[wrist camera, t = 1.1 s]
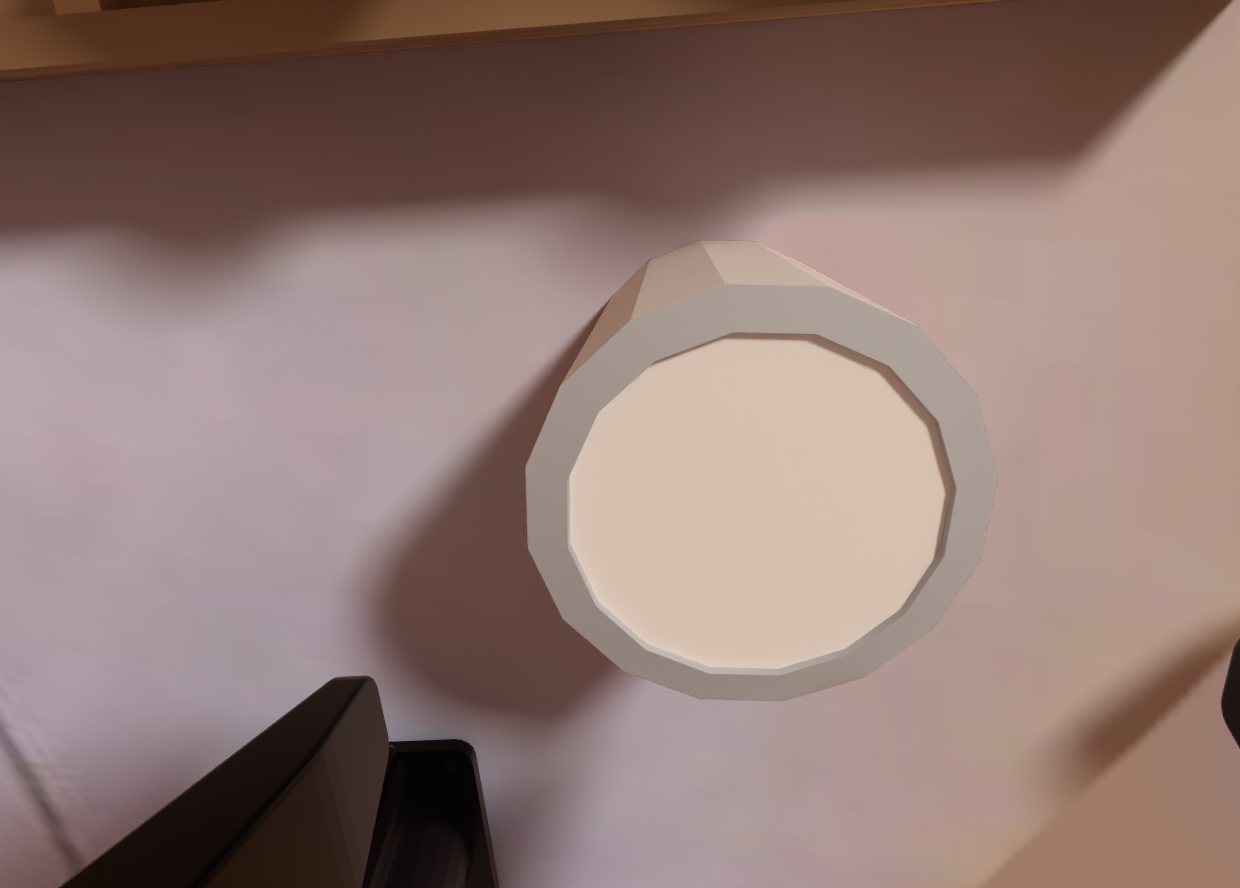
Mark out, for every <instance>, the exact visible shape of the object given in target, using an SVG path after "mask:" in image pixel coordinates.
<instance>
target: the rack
mask: <svg viewBox="0 0 1240 888" xmlns="http://www.w3.org/2000/svg"><path fill="white" fill-rule="evenodd" d="M994 1H1006V0H0V82H2V81H14V80H27V79H39V78H51V77H64V76H76V75H89V74H101V73H113V72H126V71H138V70H151V69H163V68H175V67H188V66H200V65H213V64H225V63H238V62H250V61H262V60H275V59H287V58H300V57H312V56H324V55H337V54H349V53H362V52H374V51H386V50H399V49H411V48H424V47H436V46H448V45H461V44H473V43H486V42H498V41H510V40H523V39H535V38H548V37H560V36H572V35H585V34H597V33H610V32H622V31H634V30H647V29H659V28H672V27H684V26H696V25H709V24H721V23H734V22H746V21H758V20H771V19H783V18H796V17H808V16H820V15H833V14H845V13H858V12H870V11H882V10H895V9H907V8H920V7H932V6H944V5H957V4H969V3H982V2H994Z"/></svg>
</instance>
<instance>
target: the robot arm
mask: <svg viewBox="0 0 1240 888" xmlns="http://www.w3.org/2000/svg"><path fill="white" fill-rule="evenodd" d="M1221 708H1222V713H1223V717H1224V720H1225V723H1226V725H1227V727H1228V729H1229V730H1230V732H1231V733H1232V736H1233V737H1234V739H1235V741H1236V743H1237V744H1238V746H1239V748H1240V639H1239V640H1238V641H1237V642H1236V644H1235V646H1234V649H1233V653H1232V657H1231V661H1230V665H1229V669H1228V673H1227V677H1226V682H1225V685H1224V690H1223V694H1222V700H1221ZM452 757H454V758H458V759H460V760H461V761H459V762H458V761H453V760H452V759H450V758H452ZM58 888H499V883H498V878H497V872H496V866H495V861H494V855H493V849H492V843H491V838H490V832H489V826H488V821H487V815H486V809H485V803H484V798H483V792H482V786H481V781H480V775H479V769H478V763H477V758H476V753H475V750H474V748H473V747H472V746H471V745H470V744H469V743H467V742H465V741H463V740H457V739H448V740H424V741H399V742H389V740H388V733H387V728H386V724H385V719H384V715H383V710H382V706H381V701H380V697H379V692H378V688H377V685H376V683H375V681H374V679H372V678H371V677H369V676H348V677H336V678H333V679H332V680H330V681H329V682H327V683H326V684H325V685H323V686H322V687H321V688H319V689H318V690H317V691H315V692H314V693H313V694H311V695H310V696H309V697H308V698H306V699H305V700H304V701H302V702H301V703H300V704H298V705H297V706H296V707H294V708H293V709H292V710H291V711H289V712H288V713H287V714H285V715H284V716H283V717H281V718H280V719H279V720H277V721H276V722H275V723H273V724H272V725H271V726H270V727H268V728H267V729H266V730H264V731H263V732H262V733H260V734H259V735H258V736H256V737H255V738H254V739H252V740H251V741H250V742H249V743H247V744H246V745H245V746H243V747H242V748H241V749H239V750H238V751H237V752H235V753H234V754H233V755H232V756H230V757H229V758H228V759H226V760H225V761H224V762H222V763H221V764H220V765H218V766H217V767H216V768H214V769H213V770H212V771H211V772H209V773H208V774H207V775H205V776H204V777H203V778H201V779H200V780H199V781H197V782H196V783H195V784H193V785H192V786H191V787H190V788H188V789H187V790H186V791H184V792H183V793H182V794H180V795H179V796H178V797H176V798H175V799H174V800H173V801H171V802H170V803H169V804H167V805H166V806H165V807H163V808H162V809H161V810H159V811H158V812H157V813H155V814H154V815H153V816H152V817H150V818H149V819H148V820H146V821H145V822H144V823H142V824H141V825H140V826H138V827H137V828H136V829H135V830H133V831H132V832H131V833H129V834H128V835H127V836H125V837H124V838H123V839H121V840H120V841H119V842H117V843H116V844H115V845H113V846H112V847H111V848H110V849H108V850H107V851H106V852H104V853H103V854H102V855H100V856H99V857H98V858H96V859H95V860H94V861H92V862H91V863H90V864H89V865H87V866H86V867H85V868H83V869H82V870H81V871H79V872H78V873H77V874H75V875H74V876H73V877H71V878H70V879H69V880H68V881H66V882H65V883H64V884H62V885H61V886H60V887H58Z"/></svg>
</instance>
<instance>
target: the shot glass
mask: <svg viewBox="0 0 1240 888" xmlns="http://www.w3.org/2000/svg"><path fill="white" fill-rule="evenodd" d="M525 472H526V505H527V538H528V550H529V552H530V554H531V556H532V558H533V560H534V562H535V564H536V566H537V568H538V570H539V572H540V574H541V576H542V578H543V580H544V582H545V584H546V586H547V588H548V590H549V592H550V594H551V596H552V598H553V600H554V602H555V604H556V606H557V608H558V610H559V612H560V614H561V616H562V618H563V620H564V621H566V622H567V623H568V624H569V625H570V626H571V627H573V628H574V629H575V630H576V631H577V632H578V633H580V634H581V635H582V636H583V637H584V638H585V639H587V640H588V641H589V642H590V643H591V644H592V645H593V646H595V647H596V648H597V649H598V650H599V651H600V652H602V653H603V654H604V655H605V656H606V657H607V658H609V659H610V660H611V661H612V662H613V663H614V664H616V665H617V666H618V667H619V668H620V669H621V670H623V671H625V672H627V673H630V674H633V675H636V676H638V677H641V678H644V679H646V680H649V681H652V682H655V683H657V684H660V685H663V686H665V687H668V688H671V689H674V690H676V691H679V692H682V693H684V694H687V695H690V696H692V697H695V698H698V699H718V700H753V701H785V700H789V699H792V698H796V697H799V696H802V695H806V694H809V693H813V692H816V691H819V690H823V689H826V688H830V687H833V686H836V685H840V684H843V683H847V682H850V681H854V680H857V679H860V678H864V677H865V676H867V675H868V674H870V673H871V672H872V671H874V670H875V669H877V668H878V667H880V666H881V665H882V664H884V663H885V662H887V661H888V660H890V659H891V658H893V657H894V656H895V655H897V654H898V653H900V652H901V651H903V650H904V649H905V648H907V647H908V646H910V645H911V644H913V643H914V642H915V641H917V640H918V639H920V638H921V637H923V636H924V635H926V634H927V633H928V632H930V631H931V630H933V629H934V627H935V626H936V625H937V623H938V622H939V620H940V619H941V617H942V616H943V614H944V613H945V612H946V610H947V609H948V607H949V606H950V604H951V603H952V602H953V600H954V599H955V597H956V596H957V594H958V593H959V591H960V590H961V589H962V587H963V586H964V584H965V583H966V581H967V580H968V579H969V577H970V576H971V574H972V573H973V571H974V570H975V568H976V567H977V566H978V564H979V563H980V561H981V559H982V554H983V550H984V545H985V540H986V535H987V530H988V525H989V521H990V516H991V511H992V506H993V501H994V496H995V492H996V487H997V482H998V475H997V471H996V467H995V463H994V460H993V456H992V452H991V448H990V444H989V440H988V436H987V432H986V428H985V424H984V420H983V416H982V412H981V408H980V404H979V400H978V396H977V394H976V393H975V392H974V391H973V390H972V389H971V387H970V386H969V385H968V384H967V383H966V382H965V380H964V379H963V378H962V377H961V376H960V375H959V373H958V372H957V371H956V370H955V369H954V368H953V366H952V365H951V364H950V363H949V362H948V361H947V359H946V358H945V357H944V356H943V355H942V354H941V352H940V351H939V350H938V349H937V348H936V347H935V345H934V344H933V343H932V342H931V341H930V340H929V338H928V337H927V336H926V335H925V334H924V333H923V331H922V330H921V329H920V328H919V327H918V326H916V325H915V324H913V323H911V322H909V321H907V320H905V319H903V318H902V317H900V316H898V315H896V314H894V313H892V312H891V311H889V310H887V309H885V308H883V307H881V306H879V305H878V304H876V303H874V302H872V301H870V300H868V299H867V298H865V297H863V296H861V295H859V294H857V293H855V292H854V291H852V290H850V289H848V288H846V287H844V286H843V285H841V284H839V283H837V282H835V281H833V280H831V279H830V278H828V277H826V276H824V275H822V274H820V273H819V272H817V271H815V270H813V269H811V268H809V267H807V266H806V265H804V264H802V263H800V262H798V261H796V260H793V259H791V258H789V257H787V256H785V255H782V254H780V253H778V252H776V251H773V250H771V249H769V248H767V247H765V246H762V245H760V244H758V243H756V242H754V241H712V240H699V241H697V242H694V243H692V244H689V245H687V246H684V247H681V248H679V249H676V250H674V251H671V252H669V253H666V254H664V255H661V256H658V257H656V258H653V259H651V260H649V261H648V262H647V263H646V264H645V265H644V266H643V267H642V268H641V269H640V270H639V271H638V272H637V273H636V274H635V275H634V276H633V277H632V278H631V279H629V280H628V281H627V282H626V283H625V284H624V285H623V286H622V287H621V288H620V289H619V290H618V291H617V292H616V293H615V294H614V295H613V296H612V297H611V299H610V301H609V303H608V304H607V306H606V308H605V310H604V311H603V313H602V315H601V316H600V318H599V320H598V322H597V323H596V325H595V327H594V329H593V330H592V332H591V334H590V335H589V337H588V339H587V341H586V342H585V344H584V346H583V347H582V349H581V351H580V353H579V354H578V356H577V358H576V360H575V361H574V363H573V365H572V366H571V368H570V370H569V372H568V373H567V375H566V377H565V379H564V380H563V382H562V384H561V385H560V387H559V390H558V392H557V394H556V397H555V399H554V401H553V404H552V406H551V408H550V411H549V413H548V415H547V418H546V420H545V422H544V425H543V427H542V429H541V432H540V434H539V436H538V439H537V441H536V443H535V446H534V448H533V450H532V453H531V455H530V457H529V460H528V462H527V464H526V467H525Z"/></svg>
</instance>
